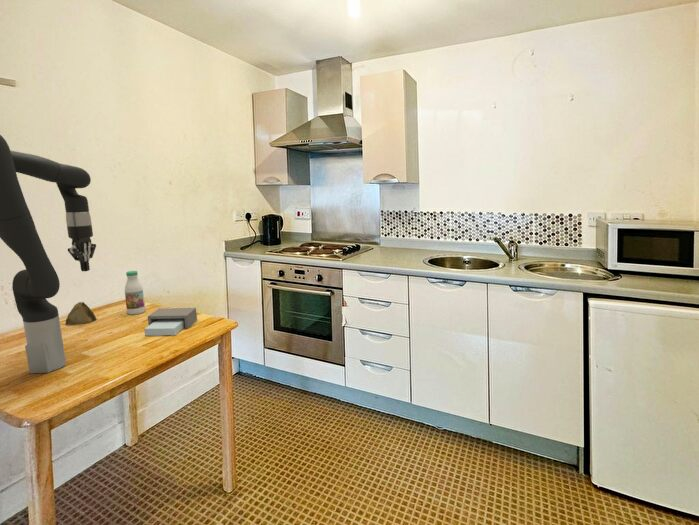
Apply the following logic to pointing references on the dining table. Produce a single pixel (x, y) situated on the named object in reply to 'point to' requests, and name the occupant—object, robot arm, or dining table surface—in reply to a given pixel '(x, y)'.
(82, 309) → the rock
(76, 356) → the dining table surface
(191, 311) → the low shelf
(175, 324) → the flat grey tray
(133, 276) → the milk bottle
